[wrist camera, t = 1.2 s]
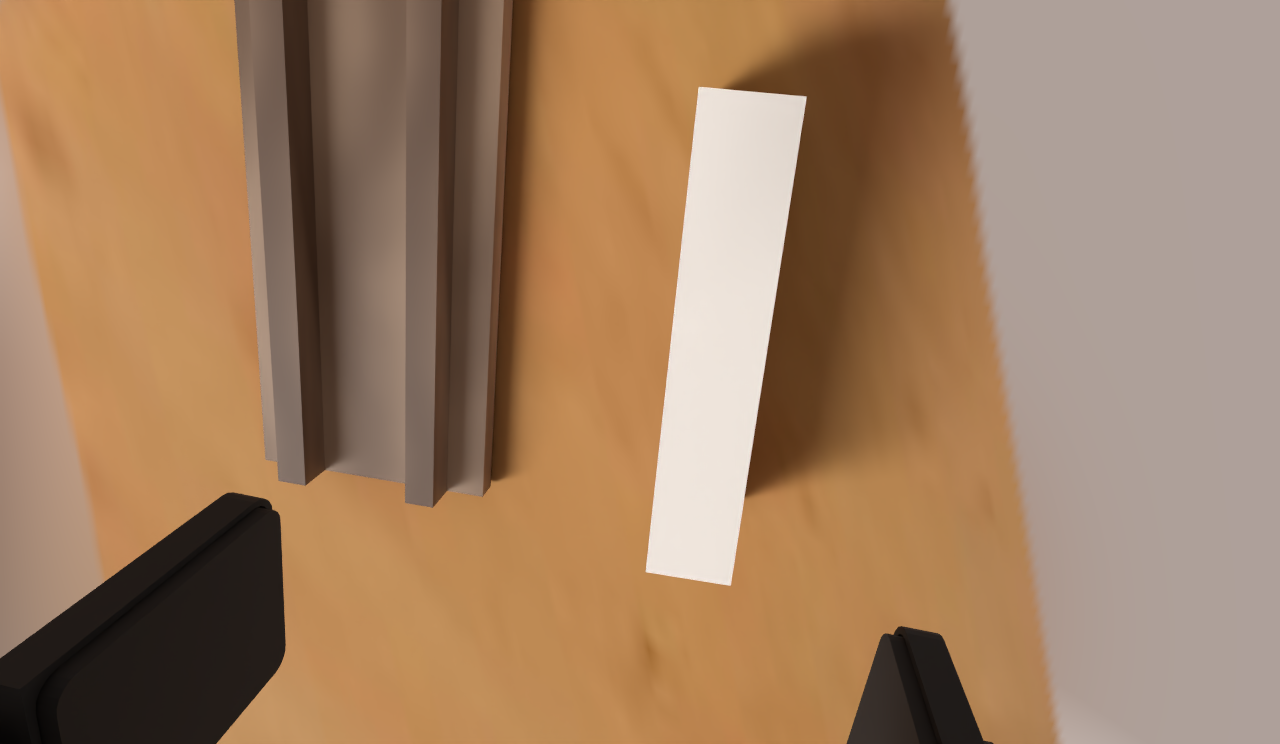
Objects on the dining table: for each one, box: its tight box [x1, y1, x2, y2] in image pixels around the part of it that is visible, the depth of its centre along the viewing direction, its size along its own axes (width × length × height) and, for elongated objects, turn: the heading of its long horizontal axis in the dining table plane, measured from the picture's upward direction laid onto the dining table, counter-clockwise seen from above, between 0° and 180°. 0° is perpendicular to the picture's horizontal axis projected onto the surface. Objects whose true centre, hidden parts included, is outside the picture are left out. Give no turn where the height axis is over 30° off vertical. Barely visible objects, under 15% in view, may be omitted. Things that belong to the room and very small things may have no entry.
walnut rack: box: [235, 0, 513, 508], centre depth 27 cm, size 10×22×2 cm, turn 174°
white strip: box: [646, 87, 807, 586], centre depth 25 cm, size 3×16×6 cm, turn 175°
